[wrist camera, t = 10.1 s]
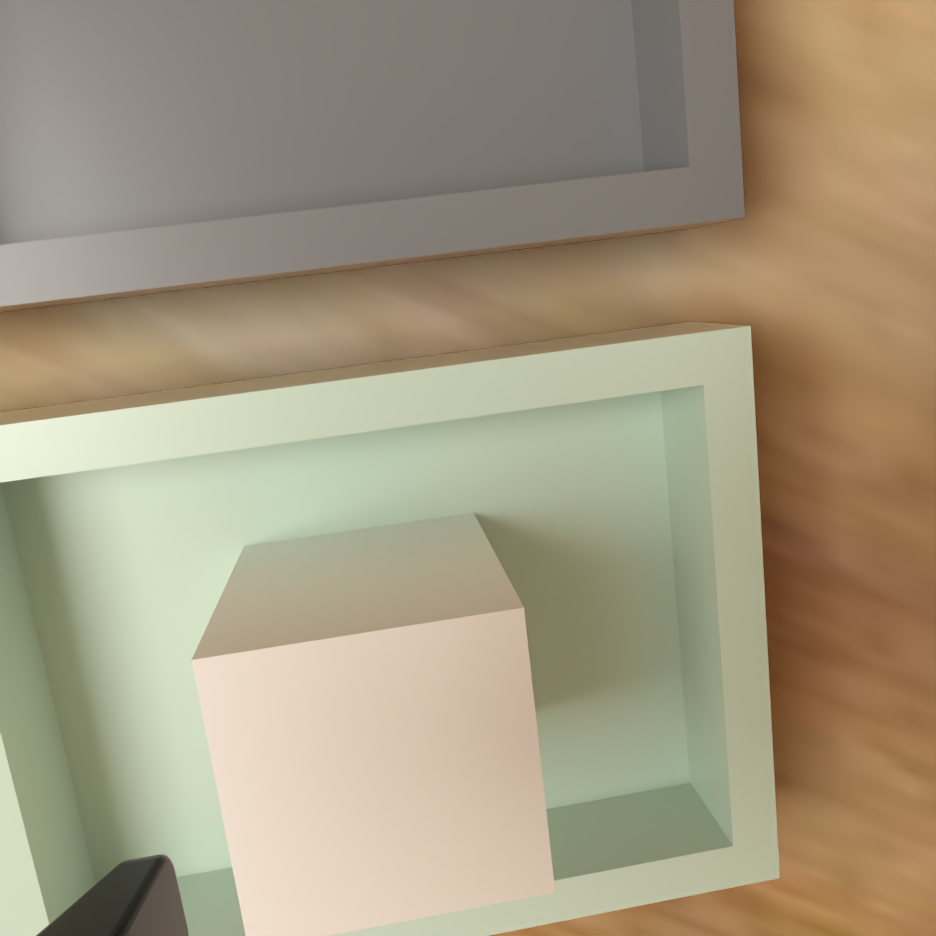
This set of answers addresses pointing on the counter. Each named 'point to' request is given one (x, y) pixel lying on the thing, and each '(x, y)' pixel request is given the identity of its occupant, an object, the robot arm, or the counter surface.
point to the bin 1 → (348, 135)
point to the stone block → (374, 729)
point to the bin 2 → (385, 503)
